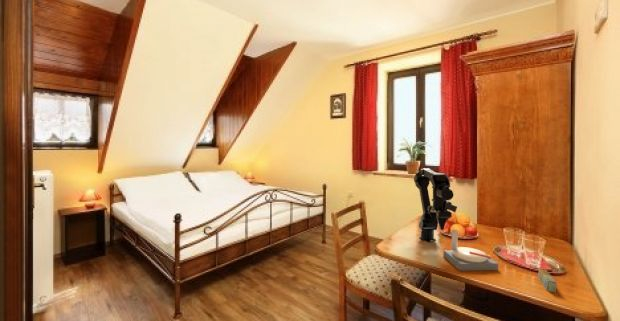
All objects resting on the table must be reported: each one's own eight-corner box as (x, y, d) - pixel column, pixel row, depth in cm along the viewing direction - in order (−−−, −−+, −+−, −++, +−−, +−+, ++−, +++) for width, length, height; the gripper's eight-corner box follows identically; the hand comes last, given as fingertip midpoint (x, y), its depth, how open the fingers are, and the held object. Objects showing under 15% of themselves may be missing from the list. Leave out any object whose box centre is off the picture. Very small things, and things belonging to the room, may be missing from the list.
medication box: (556, 293, 106) (557, 283, 106) (547, 291, 107) (548, 281, 107) (545, 278, 117) (546, 269, 116) (537, 277, 118) (538, 268, 118)
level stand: (477, 255, 139) (478, 247, 139) (498, 270, 124) (498, 260, 124) (443, 256, 139) (443, 247, 139) (459, 270, 124) (460, 261, 124)
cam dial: (492, 255, 131) (493, 233, 130) (488, 266, 120) (489, 242, 120) (454, 247, 142) (455, 226, 141) (447, 256, 131) (448, 234, 130)
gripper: (462, 200, 135) (463, 232, 135) (448, 195, 154) (448, 223, 154) (438, 200, 137) (438, 232, 137) (427, 195, 155) (427, 223, 155)
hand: (438, 227), depth 146 cm, fingers open, 9 cm apart
